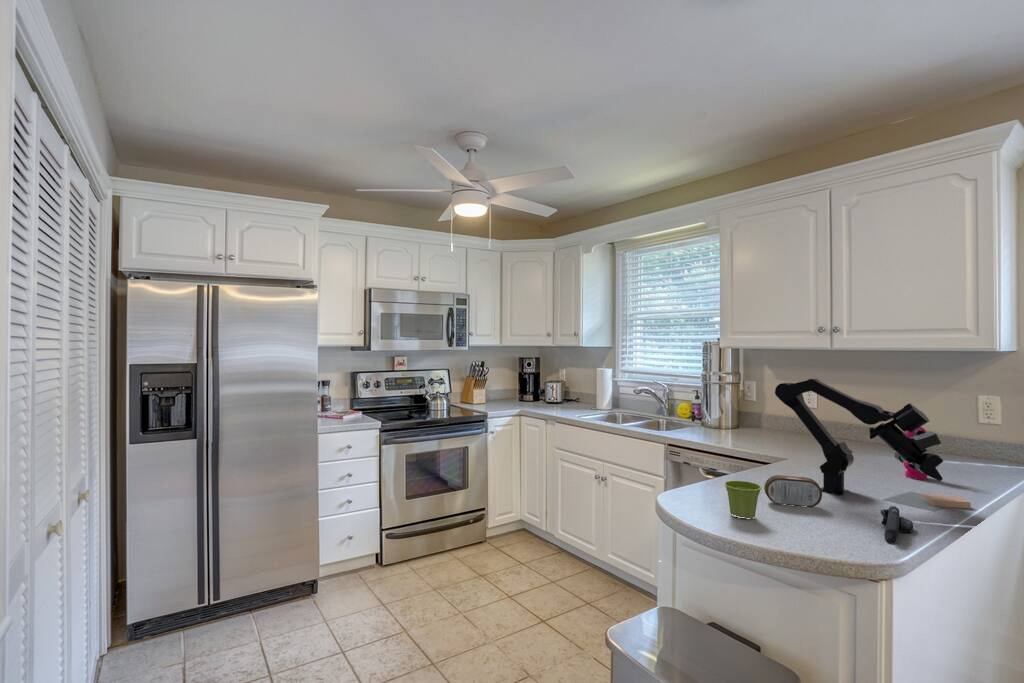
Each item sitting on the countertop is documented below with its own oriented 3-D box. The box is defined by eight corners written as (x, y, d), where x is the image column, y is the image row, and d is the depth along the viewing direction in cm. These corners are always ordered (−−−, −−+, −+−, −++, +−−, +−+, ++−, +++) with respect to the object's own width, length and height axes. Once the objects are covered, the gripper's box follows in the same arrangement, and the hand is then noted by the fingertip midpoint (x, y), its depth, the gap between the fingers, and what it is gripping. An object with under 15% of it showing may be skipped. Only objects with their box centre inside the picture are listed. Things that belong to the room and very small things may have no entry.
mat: (933, 513, 148) (933, 511, 148) (882, 501, 159) (882, 499, 159) (960, 503, 157) (960, 501, 157) (909, 493, 168) (909, 491, 168)
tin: (820, 506, 154) (820, 477, 154) (823, 509, 151) (823, 480, 151) (764, 501, 159) (764, 473, 159) (765, 504, 156) (765, 475, 156)
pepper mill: (925, 476, 190) (925, 421, 191) (931, 480, 184) (931, 423, 184) (901, 474, 193) (901, 419, 194) (906, 478, 187) (906, 422, 187)
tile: (933, 499, 153) (970, 502, 150) (922, 493, 159) (957, 495, 157) (933, 505, 153) (970, 508, 150) (922, 499, 159) (957, 501, 157)
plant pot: (769, 518, 142) (769, 486, 142) (746, 524, 138) (746, 491, 138) (739, 509, 151) (739, 479, 151) (716, 514, 146) (717, 483, 146)
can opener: (881, 522, 140) (881, 501, 140) (914, 528, 136) (914, 507, 136) (872, 541, 127) (872, 517, 127) (908, 548, 122) (908, 524, 122)
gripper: (934, 426, 148) (982, 468, 145) (906, 418, 166) (948, 455, 163) (901, 452, 150) (948, 495, 147) (877, 441, 168) (918, 479, 165)
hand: (941, 479), depth 155 cm, fingers closed
